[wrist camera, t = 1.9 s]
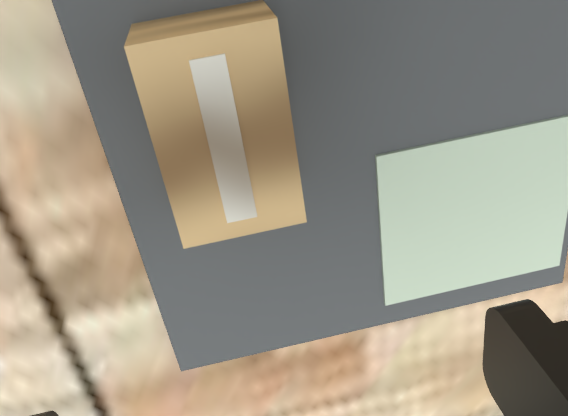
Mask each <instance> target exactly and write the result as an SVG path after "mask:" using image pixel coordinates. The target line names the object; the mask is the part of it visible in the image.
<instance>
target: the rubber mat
mask: <svg viewBox="0 0 568 416" xmlns="http://www.w3.org/2000/svg"><path fill="white" fill-rule="evenodd" d="M253 1H258V0H52V3H53V6H54V8H55V11H56V14H57V17H58V20H59V23H60V26H61V28H62V31H63V34H64V37H65V40H66V43H67V46H68V49H69V51H70V54H71V57H72V60H73V63H74V66H75V69H76V71H77V74H78V77H79V80H80V83H81V86H82V89H83V92H84V94H85V97H86V100H87V103H88V106H89V109H90V112H91V114H92V117H93V120H94V123H95V126H96V129H97V132H98V135H99V137H100V140H101V143H102V146H103V149H104V152H105V155H106V157H107V160H108V163H109V166H110V169H111V172H112V175H113V178H114V180H115V183H116V186H117V189H118V192H119V195H120V198H121V200H122V203H123V206H124V209H125V212H126V215H127V218H128V221H129V223H130V226H131V229H132V232H133V235H134V238H135V241H136V243H137V246H138V249H139V252H140V255H141V258H142V261H143V263H144V266H145V269H146V272H147V275H148V278H149V281H150V284H151V286H152V289H153V292H154V295H155V298H156V301H157V304H158V306H159V309H160V312H161V315H162V318H163V321H164V324H165V327H166V329H167V332H168V335H169V338H170V341H171V344H172V347H173V349H174V352H175V355H176V358H177V361H178V364H179V367H180V370H181V371H184V370H189V369H193V368H197V367H202V366H206V365H210V364H214V363H219V362H223V361H227V360H232V359H236V358H240V357H245V356H249V355H253V354H257V353H262V352H266V351H270V350H275V349H279V348H283V347H287V346H292V345H296V344H300V343H305V342H309V341H313V340H317V339H322V338H326V337H330V336H335V335H339V334H343V333H348V332H352V331H356V330H360V329H365V328H369V327H373V326H378V325H382V324H386V323H390V322H395V321H399V320H403V319H408V318H412V317H416V316H420V315H425V314H429V313H433V312H438V311H442V310H446V309H450V308H455V307H459V306H463V305H468V304H472V303H476V302H481V301H485V300H489V299H493V298H498V297H502V296H506V295H511V294H515V293H519V292H523V291H528V290H532V289H536V288H541V287H545V286H549V285H553V284H558V283H562V281H563V275H564V269H565V263H566V256H567V250H568V0H263V1H264V2H265V3H266V4H267V6H268V7H269V8H270V9H271V11H272V12H273V13H274V14H275V15H276V17H277V19H278V26H279V33H280V40H281V46H282V53H283V60H284V67H285V74H286V81H287V88H288V95H289V102H290V109H291V116H292V123H293V129H294V136H295V143H296V150H297V157H298V164H299V171H300V178H301V185H302V192H303V199H304V206H305V212H306V219H307V222H306V223H301V224H296V225H292V226H287V227H283V228H278V229H273V230H269V231H264V232H259V233H255V234H250V235H246V236H241V237H236V238H232V239H227V240H222V241H218V242H213V243H209V244H204V245H199V246H195V247H190V248H186V249H184V248H183V245H182V242H181V238H180V235H179V231H178V228H177V225H176V221H175V218H174V215H173V211H172V208H171V204H170V201H169V198H168V194H167V191H166V187H165V184H164V181H163V177H162V174H161V171H160V167H159V164H158V160H157V157H156V154H155V150H154V147H153V143H152V140H151V137H150V133H149V130H148V126H147V123H146V120H145V116H144V113H143V110H142V106H141V103H140V99H139V96H138V93H137V89H136V86H135V82H134V79H133V76H132V72H131V69H130V66H129V62H128V59H127V55H126V52H125V49H124V45H125V42H126V39H127V36H128V33H129V30H130V27H131V24H134V23H139V22H145V21H150V20H155V19H161V18H166V17H172V16H177V15H182V14H188V13H193V12H199V11H204V10H210V9H215V8H220V7H226V6H231V5H237V4H242V3H247V2H253Z"/></svg>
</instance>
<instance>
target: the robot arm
mask: <svg viewBox="0 0 568 416" xmlns="http://www.w3.org/2000/svg"><path fill="white" fill-rule="evenodd" d="M483 372H484V376H485V380H486V383H487V386H488V388H489V391H490V393H491V395H492V397H493V398H494V400H495V402H496V403H497V405H498V406H499V408H500V410H501V411H502V413H503V414H504V416H568V321H566V320H565V321H561V322H557V323H553V322H552V321H551V320H550V319H549V318H548V317H547V316H546V314H545V313H544V312H543V311H542V310H541V309H540V308H539V306H538V305H537V304H536V303H534V302H533V301H531V300H529V299H526V300H522V301H517V302H513V303H509V304H505V305H501V306H496V307H492V308H489V309H488V310H487V312H486V317H485V333H484V350H483ZM31 416H58V414H57V413H56V412H54V411H48V412H44V413H40V414H36V415H31Z"/></svg>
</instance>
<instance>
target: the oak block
mask: <svg viewBox="0 0 568 416" xmlns="http://www.w3.org/2000/svg"><path fill="white" fill-rule="evenodd" d="M124 49H125V52H126V55H127V59H128V62H129V66H130V69H131V72H132V76H133V79H134V82H135V86H136V89H137V93H138V96H139V99H140V103H141V106H142V110H143V113H144V116H145V120H146V123H147V126H148V130H149V133H150V137H151V140H152V143H153V147H154V150H155V154H156V157H157V160H158V164H159V167H160V171H161V174H162V177H163V181H164V184H165V187H166V191H167V194H168V198H169V201H170V204H171V208H172V211H173V215H174V218H175V221H176V225H177V228H178V231H179V235H180V238H181V242H182V245H183V248H184V249H186V248H190V247H195V246H199V245H204V244H209V243H213V242H218V241H222V240H227V239H232V238H236V237H241V236H246V235H250V234H255V233H259V232H264V231H269V230H273V229H278V228H283V227H287V226H292V225H296V224H301V223H306V222H307V219H306V212H305V206H304V199H303V192H302V185H301V178H300V171H299V164H298V157H297V150H296V143H295V136H294V129H293V123H292V116H291V109H290V102H289V95H288V88H287V81H286V74H285V67H284V60H283V53H282V46H281V40H280V33H279V26H278V19H277V17H276V15H275V14H274V13H273V12H272V11H271V9H270V8H269V7H268V6H267V4H266V3H265V2H264V1H263V0H258V1H253V2H247V3H242V4H237V5H231V6H226V7H220V8H215V9H210V10H204V11H199V12H193V13H188V14H182V15H177V16H172V17H166V18H161V19H155V20H150V21H145V22H139V23H134V24H131V27H130V30H129V33H128V36H127V39H126V42H125V45H124Z"/></svg>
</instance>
